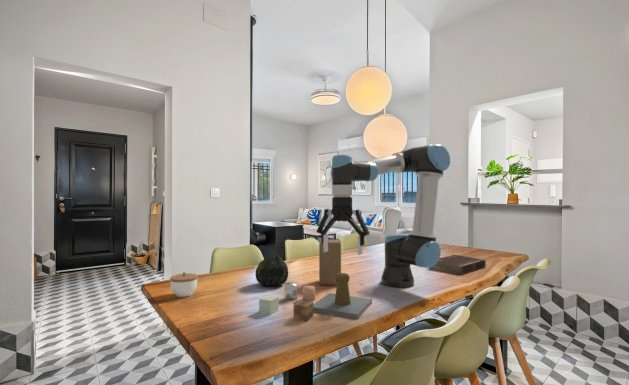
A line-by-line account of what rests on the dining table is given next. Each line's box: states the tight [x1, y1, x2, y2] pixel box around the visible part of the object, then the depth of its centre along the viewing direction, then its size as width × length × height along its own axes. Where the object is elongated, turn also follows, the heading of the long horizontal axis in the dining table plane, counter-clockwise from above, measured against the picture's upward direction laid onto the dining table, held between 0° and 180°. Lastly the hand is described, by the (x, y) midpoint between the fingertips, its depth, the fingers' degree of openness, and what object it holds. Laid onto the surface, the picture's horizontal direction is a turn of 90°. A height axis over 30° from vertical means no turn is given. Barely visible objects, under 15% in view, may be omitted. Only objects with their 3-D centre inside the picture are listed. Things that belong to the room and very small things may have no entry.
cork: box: [335, 272, 351, 306], centre depth 123 cm, size 6×6×11 cm
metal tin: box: [284, 281, 298, 302], centre depth 132 cm, size 5×5×6 cm
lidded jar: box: [170, 271, 199, 298], centre depth 138 cm, size 11×11×9 cm
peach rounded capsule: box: [302, 285, 316, 302], centre depth 131 cm, size 5×5×5 cm
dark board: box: [313, 292, 373, 320], centre depth 123 cm, size 18×18×2 cm
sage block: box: [258, 294, 280, 316], centre depth 118 cm, size 5×5×5 cm
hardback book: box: [428, 254, 487, 276], centre depth 188 cm, size 29×19×5 cm, turn 129°
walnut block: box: [293, 299, 314, 323], centre depth 112 cm, size 5×5×5 cm
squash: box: [255, 254, 289, 287], centre depth 153 cm, size 14×15×15 cm
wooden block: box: [318, 239, 342, 286], centre depth 156 cm, size 10×10×20 cm
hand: (342, 253), depth 123 cm, fingers open, 13 cm apart
